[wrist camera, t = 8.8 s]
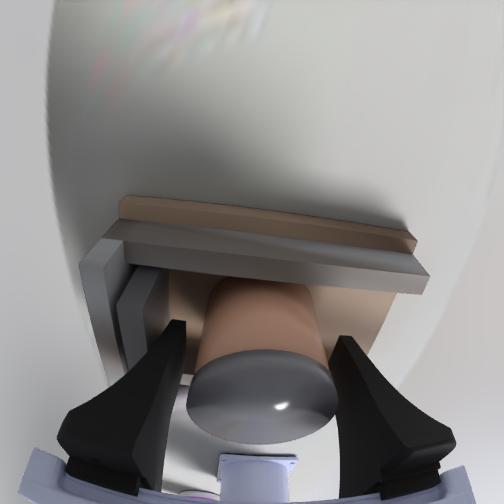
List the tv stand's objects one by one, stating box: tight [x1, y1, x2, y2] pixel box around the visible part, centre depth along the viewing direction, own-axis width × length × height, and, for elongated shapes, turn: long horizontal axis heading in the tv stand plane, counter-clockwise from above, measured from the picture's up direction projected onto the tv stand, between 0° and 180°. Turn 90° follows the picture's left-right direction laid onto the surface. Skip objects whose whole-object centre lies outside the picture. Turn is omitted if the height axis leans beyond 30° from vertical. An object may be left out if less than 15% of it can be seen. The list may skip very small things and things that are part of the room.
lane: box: [79, 196, 430, 386], centre depth 14 cm, size 10×14×5 cm
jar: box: [186, 276, 339, 445], centre depth 13 cm, size 6×6×6 cm
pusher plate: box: [116, 265, 170, 370], centre depth 13 cm, size 6×1×4 cm, turn 173°
